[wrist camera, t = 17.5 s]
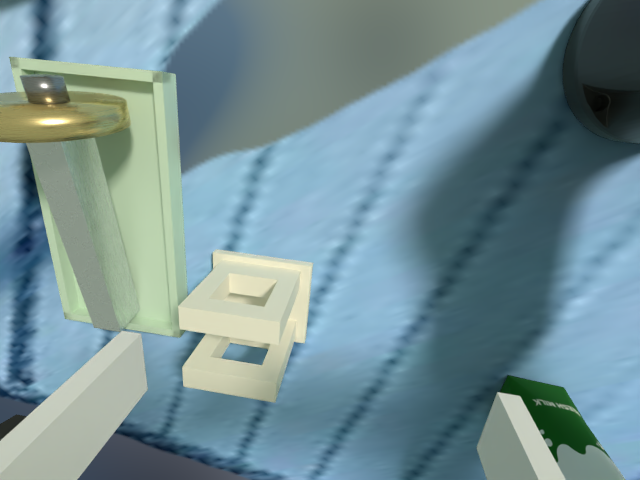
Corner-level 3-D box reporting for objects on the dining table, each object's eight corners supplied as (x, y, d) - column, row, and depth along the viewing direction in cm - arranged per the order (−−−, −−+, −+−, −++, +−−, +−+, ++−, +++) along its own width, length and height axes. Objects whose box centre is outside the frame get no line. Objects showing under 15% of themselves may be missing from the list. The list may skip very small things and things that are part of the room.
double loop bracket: (216, 249, 41) (164, 297, 31) (313, 262, 40) (294, 317, 30) (217, 324, 45) (172, 390, 35) (305, 338, 44) (287, 410, 34)
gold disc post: (37, 65, 34) (-106, 75, 24) (148, 76, 34) (49, 92, 23) (105, 283, 49) (34, 347, 39) (185, 295, 48) (133, 364, 38)
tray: (175, 74, 35) (161, 71, 32) (189, 326, 46) (180, 337, 44) (32, 60, 36) (9, 56, 34) (79, 308, 47) (65, 318, 45)
